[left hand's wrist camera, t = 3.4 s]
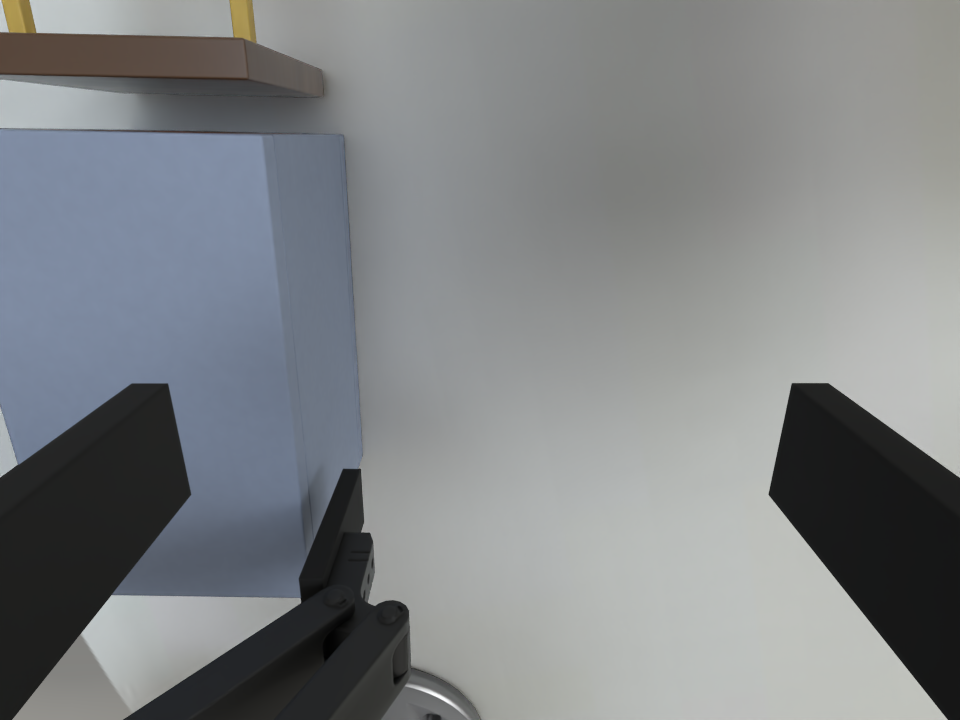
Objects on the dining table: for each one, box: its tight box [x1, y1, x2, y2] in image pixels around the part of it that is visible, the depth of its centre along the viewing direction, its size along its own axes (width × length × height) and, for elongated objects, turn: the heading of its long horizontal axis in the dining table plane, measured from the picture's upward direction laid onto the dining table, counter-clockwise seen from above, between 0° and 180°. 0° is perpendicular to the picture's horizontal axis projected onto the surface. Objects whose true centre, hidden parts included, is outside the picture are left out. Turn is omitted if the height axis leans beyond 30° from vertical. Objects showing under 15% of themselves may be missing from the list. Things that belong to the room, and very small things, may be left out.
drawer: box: [0, 0, 324, 134], centre depth 25 cm, size 22×10×10 cm, turn 179°
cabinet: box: [0, 128, 363, 598], centre depth 27 cm, size 18×11×12 cm, turn 179°
